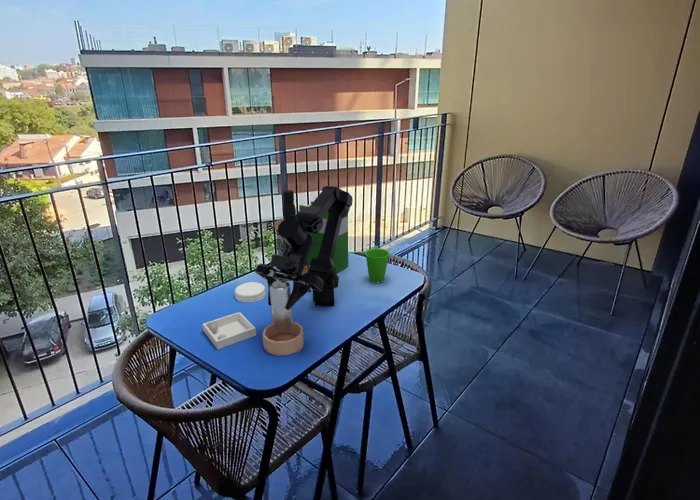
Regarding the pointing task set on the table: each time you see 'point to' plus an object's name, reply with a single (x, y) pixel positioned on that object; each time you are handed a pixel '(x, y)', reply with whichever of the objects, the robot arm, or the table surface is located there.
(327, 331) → the table surface
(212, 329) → the pebble
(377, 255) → the cup
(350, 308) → the table surface
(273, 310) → the silver ball-topped cylinder
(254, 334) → the tray
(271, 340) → the bowl
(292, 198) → the whiskey bottle
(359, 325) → the table surface
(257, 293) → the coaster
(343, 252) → the hardback book
